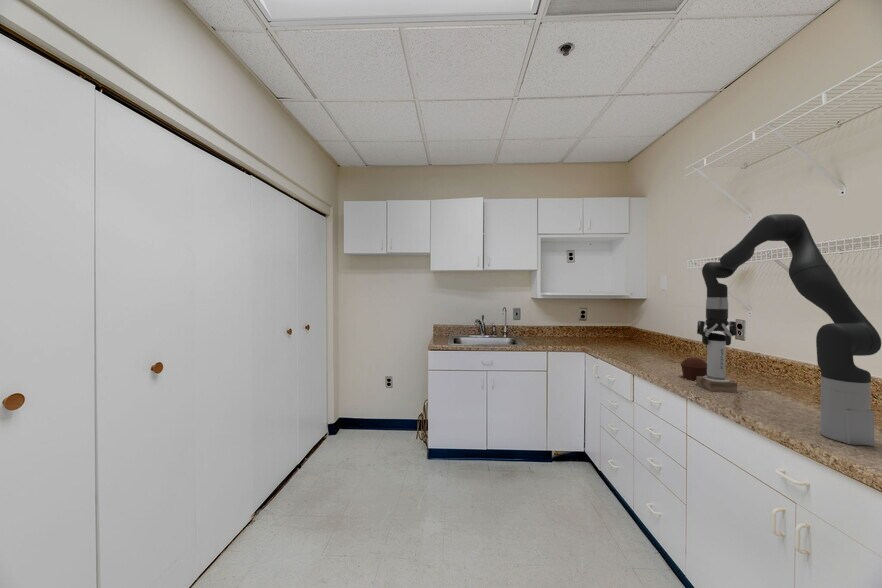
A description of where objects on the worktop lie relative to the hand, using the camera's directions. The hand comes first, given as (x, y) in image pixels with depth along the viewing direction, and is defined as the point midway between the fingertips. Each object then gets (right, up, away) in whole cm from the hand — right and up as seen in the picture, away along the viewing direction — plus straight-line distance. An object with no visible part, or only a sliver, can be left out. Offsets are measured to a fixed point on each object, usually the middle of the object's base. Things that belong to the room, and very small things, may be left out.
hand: (716, 344), depth 147 cm
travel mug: (0, -15, 0) cm, 15 cm away
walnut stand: (0, -19, 0) cm, 19 cm away
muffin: (+3, -19, +17) cm, 26 cm away
